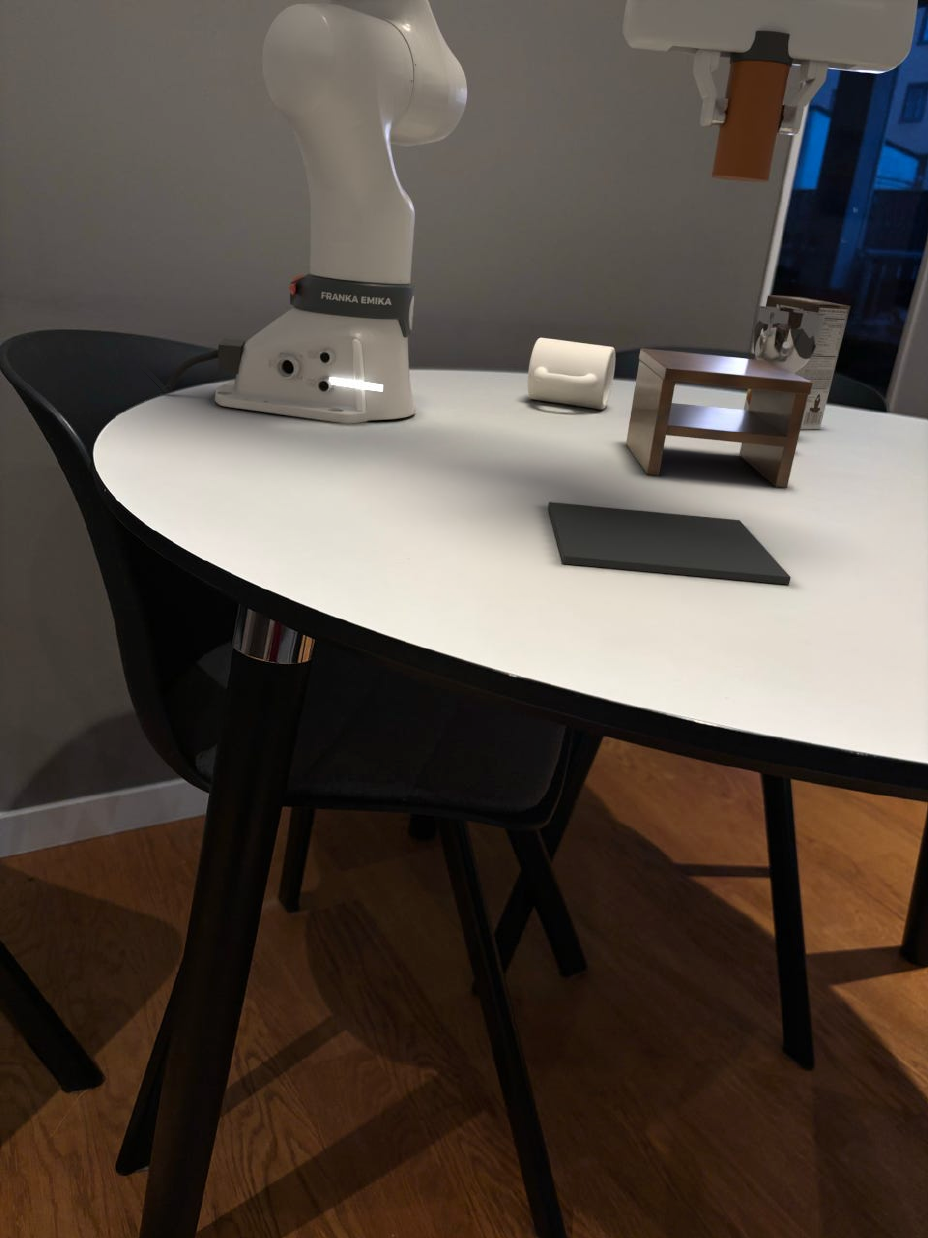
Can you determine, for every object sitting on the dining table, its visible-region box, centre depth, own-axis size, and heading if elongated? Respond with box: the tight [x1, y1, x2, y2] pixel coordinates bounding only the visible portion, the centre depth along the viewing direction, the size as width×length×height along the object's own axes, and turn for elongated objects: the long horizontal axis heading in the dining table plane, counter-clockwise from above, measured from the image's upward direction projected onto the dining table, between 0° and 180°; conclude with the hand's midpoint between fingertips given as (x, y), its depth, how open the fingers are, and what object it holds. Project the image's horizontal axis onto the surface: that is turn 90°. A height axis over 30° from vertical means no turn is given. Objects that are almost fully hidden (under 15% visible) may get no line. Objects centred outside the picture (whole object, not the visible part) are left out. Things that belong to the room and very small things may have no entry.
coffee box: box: [743, 294, 851, 431], centre depth 130 cm, size 9×6×16 cm
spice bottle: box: [711, 31, 793, 183], centre depth 72 cm, size 4×4×9 cm
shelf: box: [625, 347, 813, 489], centre depth 101 cm, size 14×15×10 cm
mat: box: [547, 501, 792, 586], centre depth 75 cm, size 16×14×1 cm
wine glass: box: [752, 305, 825, 374], centre depth 121 cm, size 8×8×15 cm
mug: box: [527, 337, 616, 411], centre depth 127 cm, size 12×10×8 cm
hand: (748, 129), depth 72 cm, fingers closed on spice bottle, 4 cm apart
